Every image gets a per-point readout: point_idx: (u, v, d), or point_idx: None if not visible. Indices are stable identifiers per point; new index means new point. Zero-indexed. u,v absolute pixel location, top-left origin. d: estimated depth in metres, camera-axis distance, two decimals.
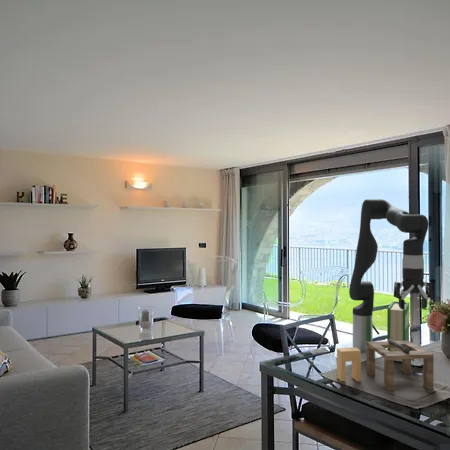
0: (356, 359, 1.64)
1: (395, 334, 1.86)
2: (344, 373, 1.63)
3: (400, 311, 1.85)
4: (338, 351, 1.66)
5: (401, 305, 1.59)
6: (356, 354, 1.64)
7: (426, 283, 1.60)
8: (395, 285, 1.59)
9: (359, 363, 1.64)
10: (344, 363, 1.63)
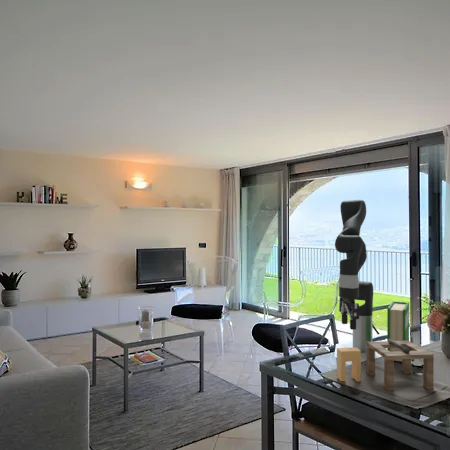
0: (356, 359, 1.64)
1: (395, 334, 1.86)
2: (344, 373, 1.63)
3: (400, 311, 1.85)
4: (338, 351, 1.66)
5: (355, 325, 1.61)
6: (356, 354, 1.64)
7: None
8: (355, 307, 1.59)
9: (359, 363, 1.64)
10: (344, 363, 1.63)
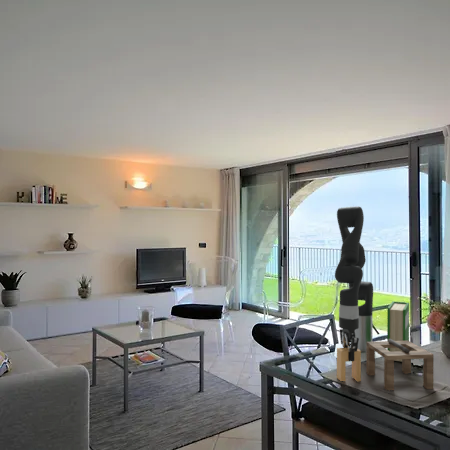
0: (356, 359, 1.64)
1: (395, 334, 1.86)
2: (344, 373, 1.63)
3: (400, 311, 1.85)
4: (338, 351, 1.66)
5: (353, 357, 1.63)
6: (356, 354, 1.64)
7: None
8: (354, 341, 1.59)
9: (359, 363, 1.64)
10: (344, 363, 1.63)
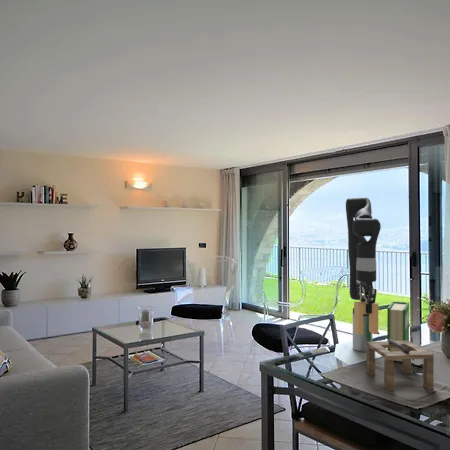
0: (374, 312, 1.63)
1: (395, 334, 1.86)
2: (362, 326, 1.63)
3: (400, 311, 1.85)
4: (355, 304, 1.66)
5: None
6: (373, 306, 1.63)
7: None
8: (372, 293, 1.59)
9: (377, 316, 1.64)
10: (362, 315, 1.63)
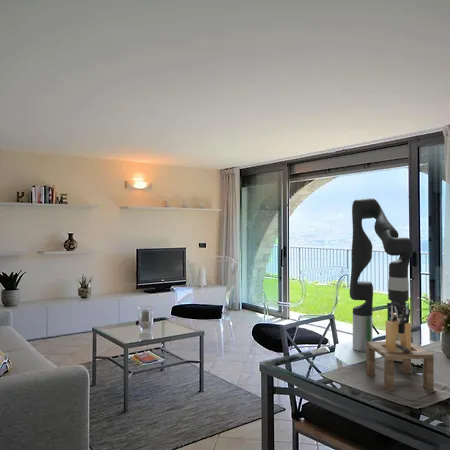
0: (406, 331, 1.63)
1: None
2: (395, 346, 1.62)
3: None
4: (387, 324, 1.65)
5: None
6: (406, 326, 1.63)
7: None
8: (406, 313, 1.58)
9: (409, 335, 1.63)
10: (394, 335, 1.62)
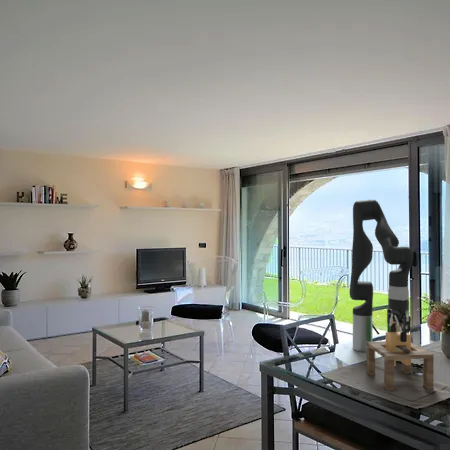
0: (406, 343, 1.63)
1: None
2: None
3: None
4: (387, 335, 1.65)
5: None
6: None
7: None
8: (407, 320, 1.58)
9: (409, 347, 1.63)
10: (394, 347, 1.62)
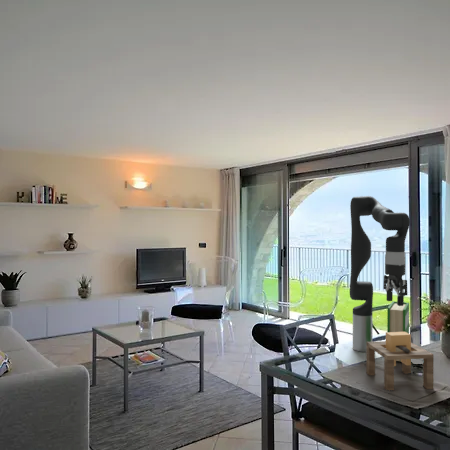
0: (406, 343, 1.63)
1: None
2: None
3: (400, 311, 1.85)
4: (387, 335, 1.65)
5: None
6: (406, 338, 1.63)
7: None
8: (403, 283, 1.60)
9: (409, 347, 1.63)
10: (394, 347, 1.62)
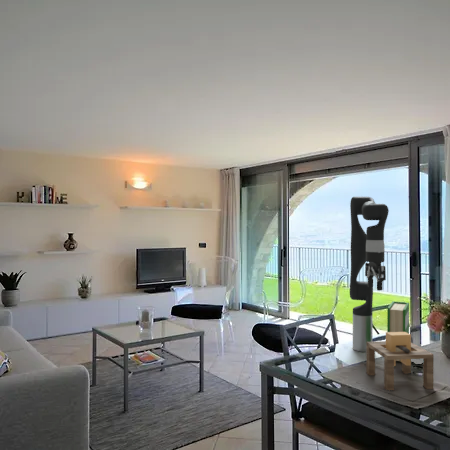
0: (406, 343, 1.63)
1: None
2: None
3: (400, 311, 1.85)
4: (387, 335, 1.65)
5: None
6: (406, 338, 1.63)
7: None
8: (382, 269, 1.71)
9: (409, 347, 1.63)
10: (394, 347, 1.62)
